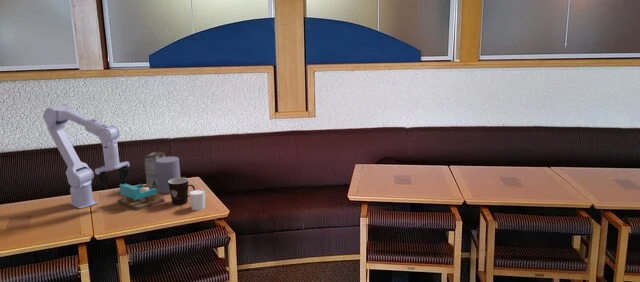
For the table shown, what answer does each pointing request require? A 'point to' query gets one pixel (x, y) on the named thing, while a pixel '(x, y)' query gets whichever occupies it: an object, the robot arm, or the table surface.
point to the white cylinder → (197, 199)
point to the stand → (141, 200)
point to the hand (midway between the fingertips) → (114, 186)
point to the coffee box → (152, 169)
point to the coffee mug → (179, 190)
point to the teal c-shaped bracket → (135, 191)
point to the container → (166, 172)
